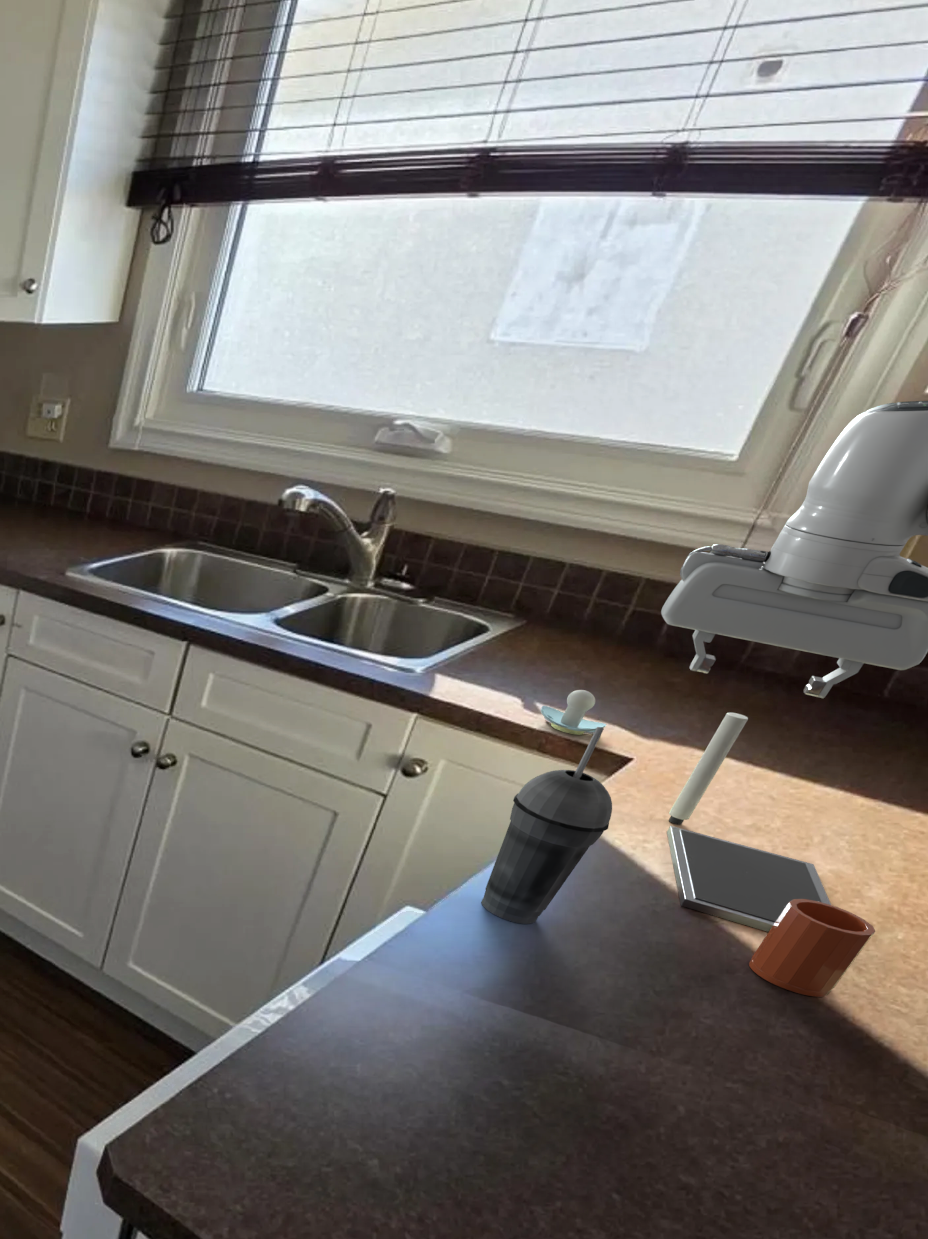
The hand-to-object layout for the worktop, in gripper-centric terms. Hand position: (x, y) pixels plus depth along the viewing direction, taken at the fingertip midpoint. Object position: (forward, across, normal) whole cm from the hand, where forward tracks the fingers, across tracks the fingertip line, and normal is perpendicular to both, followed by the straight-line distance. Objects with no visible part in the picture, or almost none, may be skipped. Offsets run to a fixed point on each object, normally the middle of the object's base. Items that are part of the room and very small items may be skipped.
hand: (754, 682), depth 113 cm
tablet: (+18, +5, -14) cm, 23 cm away
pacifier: (+18, -10, +26) cm, 33 cm away
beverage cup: (+18, -15, -38) cm, 45 cm away
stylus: (+18, 0, 0) cm, 18 cm away
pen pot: (+18, +6, -33) cm, 38 cm away
